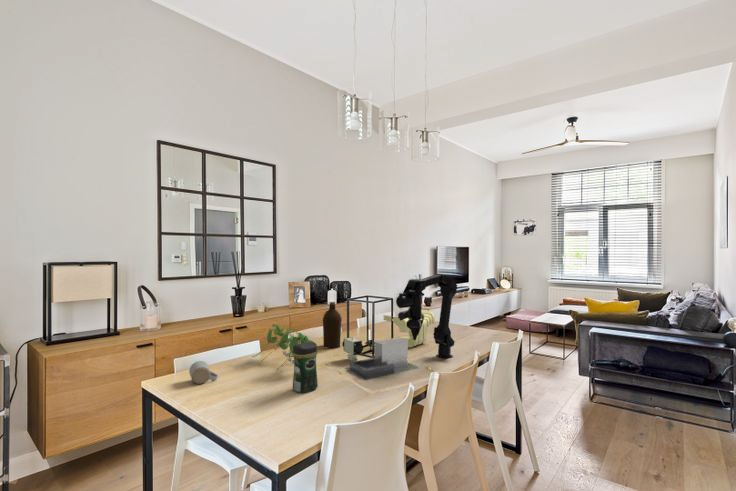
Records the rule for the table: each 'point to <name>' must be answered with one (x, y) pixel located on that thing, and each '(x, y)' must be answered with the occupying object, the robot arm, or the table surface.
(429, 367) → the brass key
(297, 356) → the coffee jar
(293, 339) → the plant cuttings
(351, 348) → the pneumatic valve
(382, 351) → the block
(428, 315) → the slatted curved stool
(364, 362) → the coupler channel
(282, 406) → the table surface
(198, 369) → the ceramic mug
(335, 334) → the olive oil
